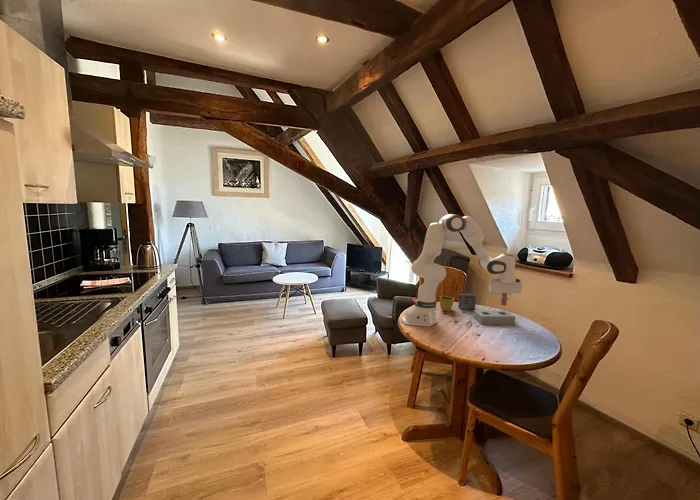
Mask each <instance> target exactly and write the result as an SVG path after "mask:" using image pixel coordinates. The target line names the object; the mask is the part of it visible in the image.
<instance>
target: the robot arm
mask: <svg viewBox="0 0 700 500" xmlns="http://www.w3.org/2000/svg"><path fill="white" fill-rule="evenodd" d="M457 232H460V233H461V234H462V236H463V238H464V240H465V241H466V242H467V243H468V244H469V246H470V247H472V249H473V251H474V252H475V254H476V256H477V258H478V264H479V267H480V269H482V270H483V271H486V272H487V273H489V274H491V275H498V277H497V278H492V279H490V280H489V281H488V282H489V283H488V292H489V293H490V294H497V295H498V299H499V300H500V301H501V300H502V298H503V297H502V293H507V300H510V298H511V296H512V294H521V293H522V292H523V291H522V290H523V285H522V281H523V280H522V279H521V278H519V277H517V276H515V268H516V257H515V255H512V254H509V253H506V252H504V253H501V254H500V255H498V256H496V257H493V256H492V255H490V254H489V253H488V252H487V250H486V248H485V247H484V245H483V241H484V240H485V235H484V231H482V229H481V227H480V225H479V224H478V223H477V222H476V220H475V219H474V218H473V216H470V215H464V216H461V215H459V214H453V213H449V214H448V213H447V214H443V215H442V216H440V218H439V219H438V220H437V221H436V222H431V223H430V224H429V225H428V227H427V230H426V233H425V237H424V242H423V248H422V251H421V253H420V255H419V257H418V258H417V259H416V260H414V261H413V262H412V265H411V272H412V273H413V274H415V275H416V276H418V277H420V278H423V279H424V281H423V283H422V284H421V285H419V287H418V289H417V290H418V291H417V299H416V298H412V302H413V303H414V304H413V305H411V306H410V307H408V308H407V309H406V310H405V314H404V315H401V322H402V324H404V325H406V326H407V325H408V326H416V327H417V326H418V327H419V326H420V327H431V326H433V325H435V324H437V322H438V320H437V314H436V313H437V312H436V309H437V300H436V299H437V298H436V297H437V289H438V287H439V284H441V282H442V281H444V280H445V278H446V277H447V269H446V268H445V267H444V266H443V265H440V264H439V263H435V262H434V261H435V259H436V258H437V257H439V256H440V255H441V254H442V249H443V245H444V244H443V243H444V239H445V235H446V233H457Z"/></svg>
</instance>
